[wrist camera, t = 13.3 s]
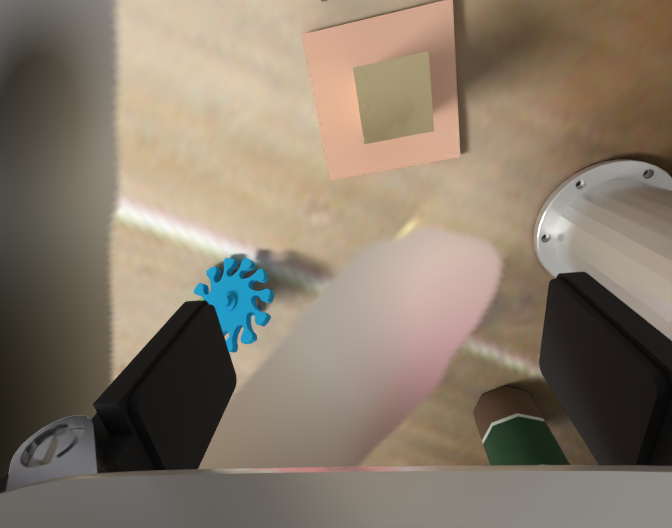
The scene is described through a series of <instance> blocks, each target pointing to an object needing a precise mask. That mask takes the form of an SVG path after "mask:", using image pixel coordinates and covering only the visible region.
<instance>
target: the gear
mask: <svg viewBox="0 0 672 528" xmlns="http://www.w3.org/2000/svg"><path fill="white" fill-rule="evenodd" d="M237 266H238V261H236V260H234V259H232V258H225V260H224V273H223V276H222V278H221V280H220V281H218V280H219V277H220V275H221V269H219V268H217V267H212V268H210V269H208V270H207V276H208V277H209V279H210V281H211V291H210V293H208V292H209V288H208V286H207V285H205V284H202V283H199V284H198V285H197V286H196V288H195V289H194V293H195V294H196V295H200V296H202V297H203V298H204V299H200V300H206V301H207V302H208V303H209V305H211V304H212V305H213V306H214V307H215V309H216V312H217V316H218V319H219V322H220V325H221V328H222V332H223V335H224V336H225V335H226V334H227V333H228V332H229V338H228V339H227V340H226V344H227V348H228V351H229V352H236V351H237V349H238V344H237V338H238V334H239V331H240V329H241V328H242V327H244V331H243V333H242V336H241V342H242V343H244V344H251V343H253V342H255V341H256V340H257V335H256V334H255V333H254V331H253V329H252V327H251V316H252V315H254V316H255V322H256V324H258V325H261V326H265V325H266V324H267V323H268V322H269V320H270V318H271V316H270V315H269V314H268V313H264V312H262V311H261V310H260V308H259V307H257V305H256V299H257V298H258V297H260V299H261V300H262V301H264V302H266V303H272V301H273V298H274V291H272V290H269V289H264V290H261V291H255V290H254V289H253V284H254V283H255V282H257V281H259V282H261V283H266V282H267V281H268V274H267V271H265V270H263V269H258V270H257V271H256V272H255V273H254V274H253V275H252V276H251V277H249V278H245V279H244V275H245V273H246V272H249V271H252V270H254V269H255V267H256V265H255V263H254V262H253V261H251V260H249V259H247V258H244V259H243V260H242V262H241V265H240V268H239V269H238V271H237V272H236V273H235V274H234V275H233V276H231V274H232V272H233V271H234V270H235V269H236V268H237ZM200 300H199V301H200Z"/></svg>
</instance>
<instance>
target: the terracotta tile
mask: <svg viewBox="0 0 672 528" xmlns="http://www.w3.org/2000/svg"><path fill="white" fill-rule="evenodd" d="M302 38H303V43H304V48H305V53H306V58H307V64H308V69H309V74H310V79H311V84H312V89H313V94H314V99H315V104H316V110H317V115H318V120H319V125H320V130H321V135H322V140H323V145H324V151H325V156H326V161H327V166H328V171H329V176H330V180H334V179H339V178H345V177H351V176H356V175H362V174H367V173H373V172H379V171H384V170H390V169H396V168H401V167H407V166H412V165H418V164H424V163H429V162H435V161H441V160H446V159H452V158H457V157H460V140H459V119H458V98H457V77H456V56H455V35H454V14H453V0H444V1H439V2H435V3H431V4H427V5H423V6H419V7H414V8H410V9H406V10H402V11H398V12H393V13H389V14H385V15H381V16H377V17H373V18H368V19H364V20H360V21H356V22H352V23H348V24H343V25H339V26H335V27H331V28H327V29H323V30H318V31H314V32H310V33H306V34H302ZM427 51H428V52H429V66H430V80H431V93H432V107H433V121H434V131H433V132H427V133H422V134H417V135H411V136H406V137H401V138H395V139H390V140H385V141H379V142H374V143H369V144H364V139H363V132H362V126H361V119H360V112H359V105H358V99H357V92H356V85H355V78H354V72H353V68H354V67H358V66H363V65H368V64H372V63H377V62H381V61H386V60H390V59H395V58H400V57H404V56H409V55H413V54H418V53H422V52H427Z"/></svg>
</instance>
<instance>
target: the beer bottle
mask: <svg viewBox="0 0 672 528" xmlns="http://www.w3.org/2000/svg"><path fill="white" fill-rule="evenodd" d="M474 417H475V420H476V424H477V427H478V430H479V433H480V436H481V439H482V442H483V445H484V448H485V451H486V453H487V456H488V459H489V462H490V465H491V466H493V465H570V464H569V462H568V461H567V459H566V457H565V455H564V453H563V452H562V450H561V448H560V446H559V444H558V443H557V441H556V439H555V437H554V436H553V434H552V432H551V430H550V428H549V427H548V425H547V423H546V421H545V419H544V418H543V416H542V414H541V413H540V411H539V409H538V408H537V406H536V404H535V403H534V401H533V400H532V398H531V396H530V395H529V393H528V392H527V391H525V390H521V389H516V388H511V387H506V386H502V387H499V388H497V389H494V390H492V391H489V392H487V393H484V394H482V395H481V397H480V399H479V401H478V403H477V405H476V407H475V409H474Z"/></svg>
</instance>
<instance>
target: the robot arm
mask: <svg viewBox="0 0 672 528" xmlns="http://www.w3.org/2000/svg"><path fill="white" fill-rule="evenodd" d="M577 182H578V184H577V185H576V183H577ZM543 235H544V236H543ZM542 236H543V237H542ZM533 241H534V249H535V252H536V255H537V257H538V260H539V261H540V262H541V264H542V265H543V267H544V268H545V269H546V270H547V271H548V272H549V273H550V274H551V275H552V276H554V277H555V278H556V279H552V280H551V281H550V283H549V288H548V296H547V304H546V312H545V320H544V328H543V336H542V344H541V351H540V359H539V364H540V370H541V373H542V375H543V376H544V378H545V380H546V381H547V383H548V384H549V386H550V388H551V389H552V391H553V392H554V394H555V396H556V397H557V399H558V400H559V402H560V403H561V405H562V407H563V408H564V410H565V411H566V413H567V415H568V416H569V418H570V419H571V421H572V423H573V424H574V426H575V427H576V429H577V431H578V432H579V434H580V435H581V437H582V438H583V440H584V442H585V443H586V445H587V446H588V448H589V450H590V451H591V453H592V454H593V456H594V458H595V459H596V461H597V462H598V464H599V465H493V466H379V467H307V468H306V467H303V468H302V467H300V468H243V469H198V467H199V465H200V463H201V461H202V459H203V457H204V454H205V452H206V450H207V448H208V446H209V443H210V441H211V439H212V437H213V435H214V432H215V431H216V428H217V426H218V424H219V422H220V420H221V418H222V415H223V413H224V411H225V409H226V407H227V404H228V402H229V400H230V398H231V396H232V394H233V391H234V389H235V387H236V373H235V370H234V367H233V364H232V361H231V357H230V354H229V351H228V348H227V344H226V341H225V338H224V335H223V332H222V328H221V325H220V322H219V319H218V316H217V312H216V309H215V307H214V306H213V305H212V304H211V305H209V303H208V302H207V301H206V300H200V301H188V302H185V303H184V304H183V305H182V306H181V307H180V308H179V309H178V310H177V311H176V312H175V314H174V315H173V316H172V317H171V318H170V319H169V320H168V321H167V322H166V324H165V325H164V326H163V327H162V328H161V329H160V330H159V331H158V332H157V334H156V335H155V336H154V337H153V338H152V339H151V340H150V341H149V342H148V344H147V345H146V346H145V347H144V348H143V349H142V350H141V351H140V352H139V354H138V355H137V356H136V357H135V358H134V359H133V360H132V361H131V362H130V364H129V365H128V366H127V367H126V368H125V369H124V370H123V371H122V372H121V374H120V375H119V376H118V377H117V378H116V379H115V380H114V381H113V382H112V384H111V385H110V386H109V387H108V388H107V389H106V390H105V391H104V392H103V394H102V395H101V396H100V397H99V398H98V399H97V400H96V401H95V402H94V404H93V406H94V408H95V409H96V411H97V413H96V415H95V416H94V417H93V418H92V419H91V418H89V417H87V416H85V415H75V416H70V417H66V418H63V419H60V420H58V421H55V422H53V423H51V424H50V425H48V426H46V427H44V428H42V429H41V430H40V431H38V432H37V433H35V434H34V435H32V436H31V437H30V438H29V439H28V440H27V441H26V442H25V443H23V444H22V445H21V447H20V448H19V449H18V451H17V452H16V453H15V454H14V457H13V459H12V461H11V465H10V470H9V474H8V475H6V476H4V477H2V478H0V528H672V177H671V176H670V175H669V174H668V173H667V172H666V171H664V170H662V169H661V168H659V167H658V166H655V165H652V164H649V163H646V162H642V161H637V160H630V159H617V160H611V161H605V162H601V163H598V164H595V165H592V166H589V167H587V168H585V169H583V170H581V171H579V172H577V173H575V174H574V175H572V176H571V177H570V178H568V179H567V180H566V181H564V182H563V183H562V184H561V185H560V186H559V187H558V188H557V189H556V190H555V191H554V192H553V193H552V194H551V195H550V196H549V198H548V199H547V201H546V202H545V203H544V205H543V207H542V209H541V211H540V213H539V215H538V217H537V220H536V224H535V227H534V236H533Z"/></svg>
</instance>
